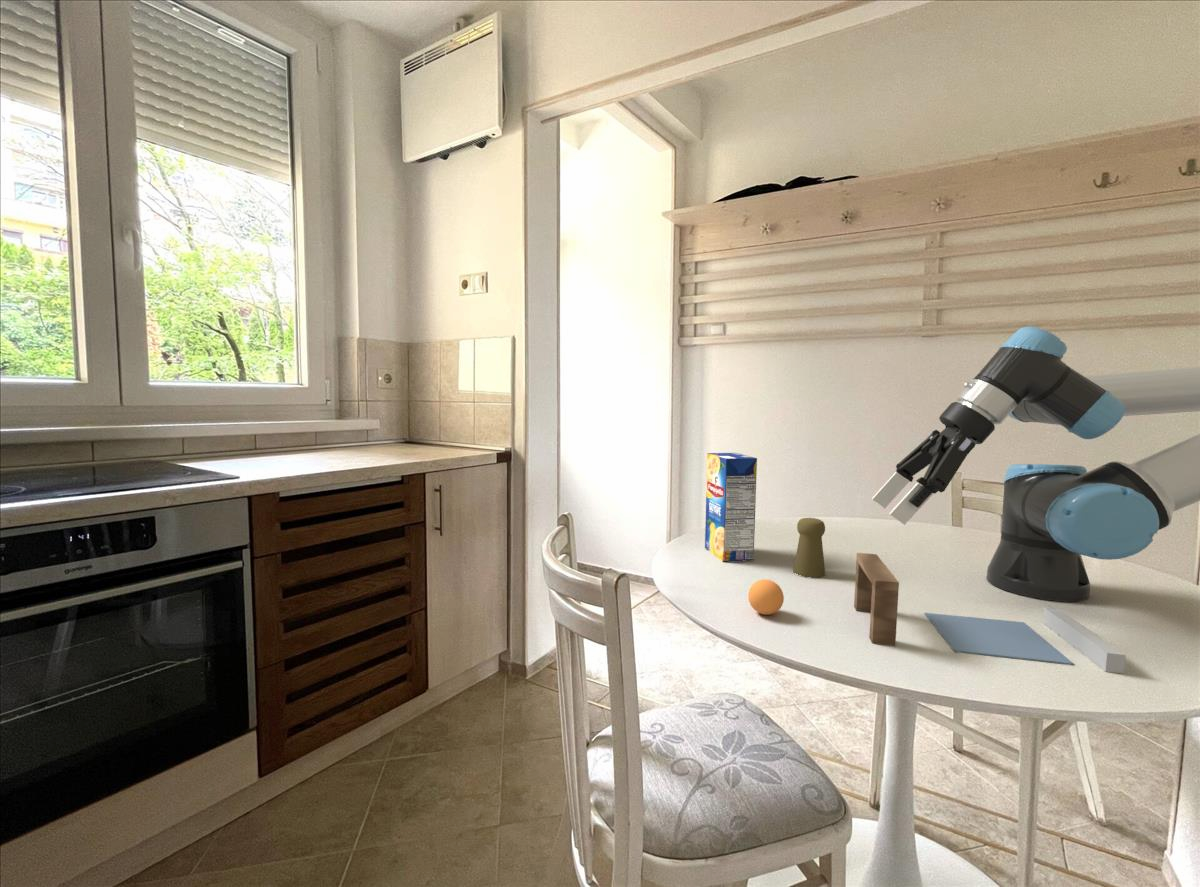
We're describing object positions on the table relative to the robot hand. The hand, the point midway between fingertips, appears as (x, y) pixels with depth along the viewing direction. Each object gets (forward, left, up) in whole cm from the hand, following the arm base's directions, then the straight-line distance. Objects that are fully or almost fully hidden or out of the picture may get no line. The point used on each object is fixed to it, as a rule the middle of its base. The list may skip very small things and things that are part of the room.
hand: (886, 511), depth 98 cm
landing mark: (-12, +14, -15) cm, 24 cm away
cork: (+11, -10, -16) cm, 22 cm away
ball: (+20, +14, -13) cm, 27 cm away
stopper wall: (-23, +14, -15) cm, 31 cm away
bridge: (+4, +14, -15) cm, 21 cm away
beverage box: (+27, -19, -16) cm, 37 cm away
